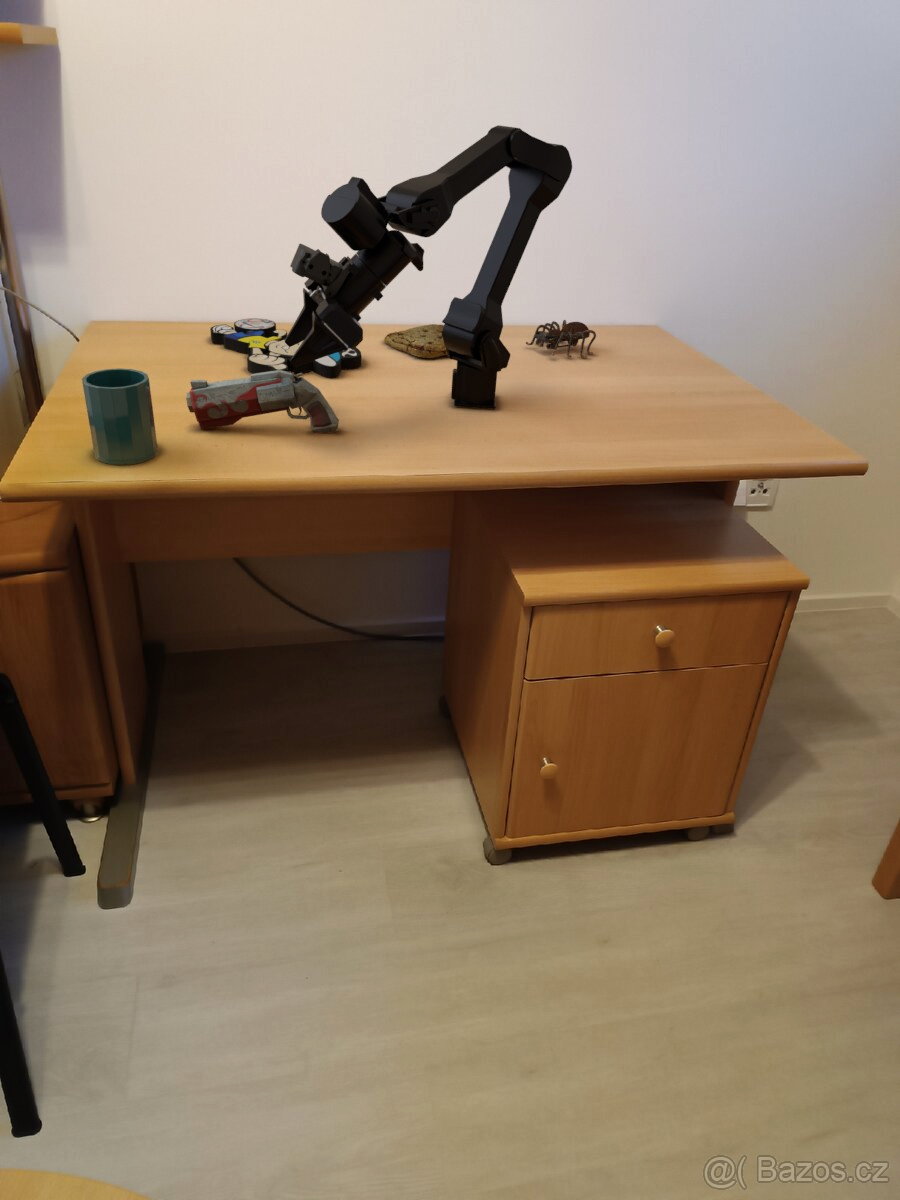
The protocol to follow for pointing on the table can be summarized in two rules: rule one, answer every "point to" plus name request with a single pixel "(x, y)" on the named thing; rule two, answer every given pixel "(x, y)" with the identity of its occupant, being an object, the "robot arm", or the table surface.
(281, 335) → the toy
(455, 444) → the table surface
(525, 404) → the table surface
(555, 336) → the toy
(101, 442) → the pen holder
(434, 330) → the pastry
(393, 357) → the table surface
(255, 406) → the toy gun
